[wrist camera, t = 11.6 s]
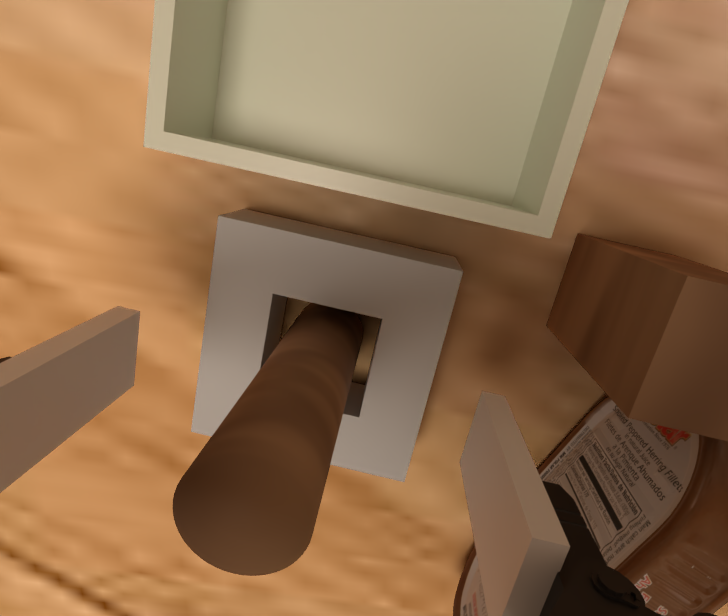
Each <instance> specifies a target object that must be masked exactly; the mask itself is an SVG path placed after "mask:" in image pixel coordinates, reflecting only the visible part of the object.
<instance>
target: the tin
mask: <svg viewBox="0 0 728 616" xmlns="http://www.w3.org/2000/svg"><path fill="white" fill-rule="evenodd" d="M537 471H538V473H539V476H540V478H541V480H542V481H546V482H550V483H554V484H559V485H560V486H561V487H562V488H563V489H564V490H565V491H566V492H567V493H568V494H569V495H570V496H571V497H572V498H573V499H574V501H575V503H576V505H577V507H578V509H579V511H580V513H581V516H582V517H583V519H584V521H585V523H586V525H587V528H588V529H589V530H590V532H591V534H592V536H593V538H594V540H595V542H596V544H597V546H598V548H599V550H600V552H601V554H602V556H603V558H604V560H605V562H606V564H607V566H609V567H611V568H613V569H615V570H617V571H618V572H620V573H621V574H622V575H624V576H625V577H626V578H628V579H629V580H630V581H631V582H632V583H633V584H634V585H635V586H636V588H637V589H638V590H639V591H640V593H641V595H642V597H643V598H644V600H645V607H647V608H649V609H651V610H653V611H654V612H656V613H658V614H661V615H663V616H693V615H694V614H696V613H698V612H702V613H711V614H714V613H715V612H716V611H717V610H718V609H720V608H721V607H722V606H723V605H725V604H726V603H727V602H728V441H724V440H720V439H716V438H711V437H707V436H703V435H698V434H694V433H690V432H685V431H681V430H677V429H673V428H668V427H664V426H660V425H655V424H651V423H647V422H642V421H638V420H634V419H630V418H628V417H627V416H626V415H625V414H624V413H623V412H622V411H621V410H620V408H619V407H618V406H617V405H616V404H615V403H614V402H613V401H612V399H611V398H610V397H609V396H608V397H607V398H605V399H604V400H603V401H602V402H600V403H599V404H598V405H597V406H596V407H595V408H594V409H593V410H592V411H591V412H590V413H589V414H588V415H587V416H586V417H585V418H584V419H583V420H582V421H581V422H580V424H579V425H578V426H577V427H576V428H575V429H574V430H573V431H572V432H571V433H570V434H569V436H568V437H567V438H566V439H565V440H564V441H563V442H562V443H561V444H560V446H559V447H558V448H557V449H556V450H555V451H554V452H553V453H552V454H551V456H550V457H549V458H548V459H547V460H546V461H545V462H544V463H543V464H542V465H541V466H540V468H539V469H538V470H537ZM453 616H488V613H487V608H486V602H485V597H484V591H483V586H482V581H481V575H480V570H479V564H478V559H477V553H476V548H475V546H474V548H473V550H472V552H471V554H470V556H469V558H468V560H467V562H466V565H465V567H464V570H463V572H462V575H461V578H460V580H459V584H458V587H457V591H456V595H455V599H454V606H453Z"/></svg>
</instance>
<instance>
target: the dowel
mask: <svg viewBox="0 0 728 616" xmlns="http://www.w3.org/2000/svg"><path fill="white" fill-rule="evenodd" d="M362 337H363V330H362V324H361V322H360V319H359V317H358V316H357V314H356V313H355V312H350V311H346V310H342V309H337V308H333V307H329V306H324V305H320V304H316V303H312V304H310V305H308V306H307V307H306V308H305V309H304V310H303V311H302V312H301V313H300V315H299V316H298V318H297V319H296V320H295V322H294V323H293V325H292V326H291V327H290V329H289V330H288V332H287V333H286V334H285V336H284V337H283V338H282V340H281V341H280V343H279V344H278V345H277V347H276V348H275V350H274V351H273V352H272V354H271V355H270V356H269V358H268V359H267V361H266V362H265V363H264V365H263V366H262V368H261V369H260V370H259V372H258V373H257V374H256V376H255V377H254V379H253V380H252V381H251V383H250V384H249V386H248V387H247V388H246V390H245V391H244V392H243V394H242V395H241V397H240V398H239V399H238V401H237V402H236V404H235V405H234V406H233V408H232V409H231V410H230V412H229V413H228V415H227V416H226V417H225V419H224V420H223V422H222V423H221V424H220V426H219V427H218V428H217V430H216V431H215V433H214V434H213V435H212V437H211V438H210V440H209V441H208V442H207V444H206V445H205V446H204V448H203V449H202V451H201V452H200V453H199V455H198V456H197V458H196V459H195V460H194V462H193V463H192V465H191V466H190V467H189V469H188V470H187V471H186V473H185V474H184V476H183V477H182V478H181V480H180V482H179V483H178V485H177V488H176V490H175V493H174V498H173V516H174V520H175V524H176V526H177V529H178V531H179V533H180V535H181V537H182V538H183V540H184V541H185V543H186V544H187V545H188V546H189V547H190V549H191V550H192V551H193V552H194V553H195V554H197V555H198V556H199V557H200V558H201V559H203V560H204V561H206V562H207V563H209V564H211V565H213V566H215V567H217V568H219V569H221V570H224V571H227V572H230V573H234V574H239V575H249V576H256V575H266V574H270V573H274V572H277V571H280V570H282V569H284V568H286V567H288V566H290V565H291V564H293V563H294V562H295V561H296V560H298V558H299V557H300V556H301V555H302V554H303V553H304V551H305V550H306V549H307V547H308V545H309V543H310V540H311V537H312V534H313V530H314V526H315V522H316V518H317V514H318V510H319V506H320V503H321V499H322V495H323V491H324V487H325V483H326V479H327V475H328V471H329V467H330V463H331V459H332V455H333V452H334V448H335V444H336V440H337V436H338V432H339V428H340V424H341V420H342V416H343V412H344V408H345V405H346V401H347V397H348V393H349V389H350V385H351V381H352V377H353V373H354V369H355V365H356V361H357V357H358V354H359V350H360V346H361V342H362Z"/></svg>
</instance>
